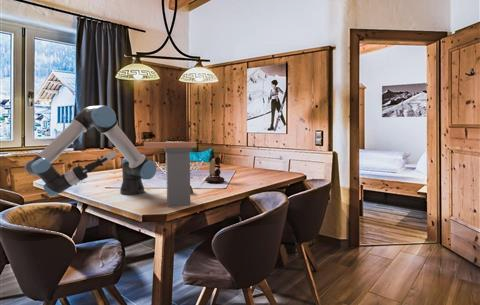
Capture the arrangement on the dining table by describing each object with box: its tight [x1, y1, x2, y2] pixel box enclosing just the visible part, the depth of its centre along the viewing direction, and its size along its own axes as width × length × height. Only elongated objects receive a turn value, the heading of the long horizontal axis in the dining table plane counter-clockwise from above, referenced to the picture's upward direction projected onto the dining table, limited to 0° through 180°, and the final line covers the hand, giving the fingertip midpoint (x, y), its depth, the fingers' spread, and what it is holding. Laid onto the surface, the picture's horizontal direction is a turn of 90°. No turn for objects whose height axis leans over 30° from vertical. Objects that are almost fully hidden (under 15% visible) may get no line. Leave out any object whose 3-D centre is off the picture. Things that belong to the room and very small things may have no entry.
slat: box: [143, 141, 197, 150], centre depth 173 cm, size 4×28×3 cm, turn 107°
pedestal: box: [163, 148, 193, 208], centre depth 176 cm, size 12×14×32 cm
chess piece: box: [205, 155, 225, 184], centre depth 242 cm, size 15×15×20 cm
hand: (114, 153), depth 165 cm, fingers open, 13 cm apart
